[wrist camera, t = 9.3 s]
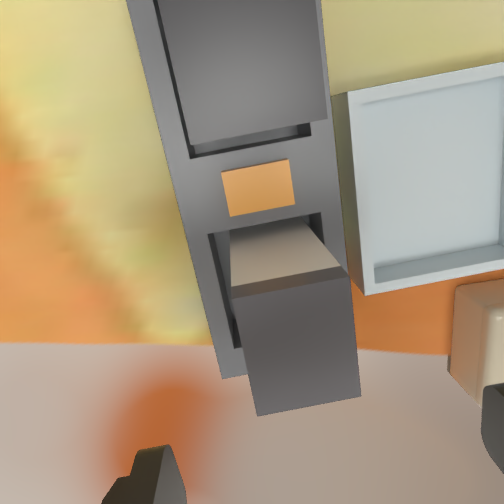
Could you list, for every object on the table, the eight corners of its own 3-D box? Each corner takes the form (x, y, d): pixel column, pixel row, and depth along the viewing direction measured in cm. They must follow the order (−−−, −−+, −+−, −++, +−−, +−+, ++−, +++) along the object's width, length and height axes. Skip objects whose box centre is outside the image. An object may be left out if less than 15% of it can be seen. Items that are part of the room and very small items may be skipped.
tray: (507, 62, 19) (551, 52, 17) (498, 247, 23) (533, 262, 20) (331, 96, 19) (347, 91, 17) (348, 276, 23) (365, 295, 20)
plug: (298, 214, 21) (349, 276, 12) (309, 293, 22) (361, 396, 14) (229, 227, 21) (231, 299, 12) (245, 305, 22) (257, 416, 14)
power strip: (135, -21, 17) (30, -193, 8) (291, -51, 17) (368, -256, 8) (222, 339, 24) (221, 474, 15) (335, 317, 24) (404, 437, 15)
